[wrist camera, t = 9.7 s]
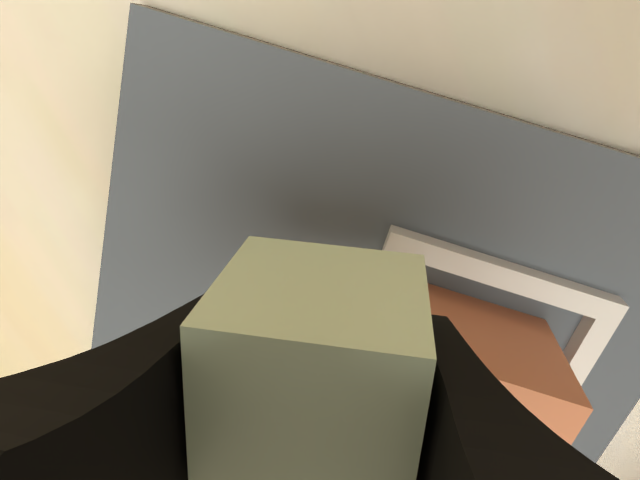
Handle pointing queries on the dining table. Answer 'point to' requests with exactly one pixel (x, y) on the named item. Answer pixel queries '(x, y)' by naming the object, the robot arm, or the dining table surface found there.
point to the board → (365, 194)
